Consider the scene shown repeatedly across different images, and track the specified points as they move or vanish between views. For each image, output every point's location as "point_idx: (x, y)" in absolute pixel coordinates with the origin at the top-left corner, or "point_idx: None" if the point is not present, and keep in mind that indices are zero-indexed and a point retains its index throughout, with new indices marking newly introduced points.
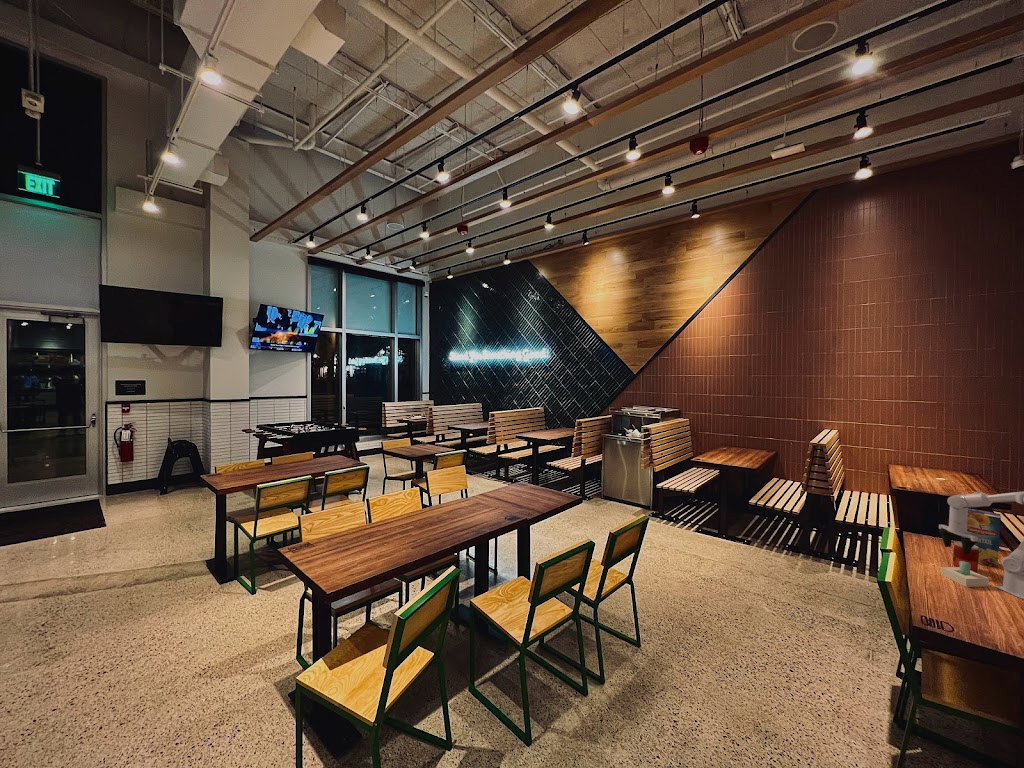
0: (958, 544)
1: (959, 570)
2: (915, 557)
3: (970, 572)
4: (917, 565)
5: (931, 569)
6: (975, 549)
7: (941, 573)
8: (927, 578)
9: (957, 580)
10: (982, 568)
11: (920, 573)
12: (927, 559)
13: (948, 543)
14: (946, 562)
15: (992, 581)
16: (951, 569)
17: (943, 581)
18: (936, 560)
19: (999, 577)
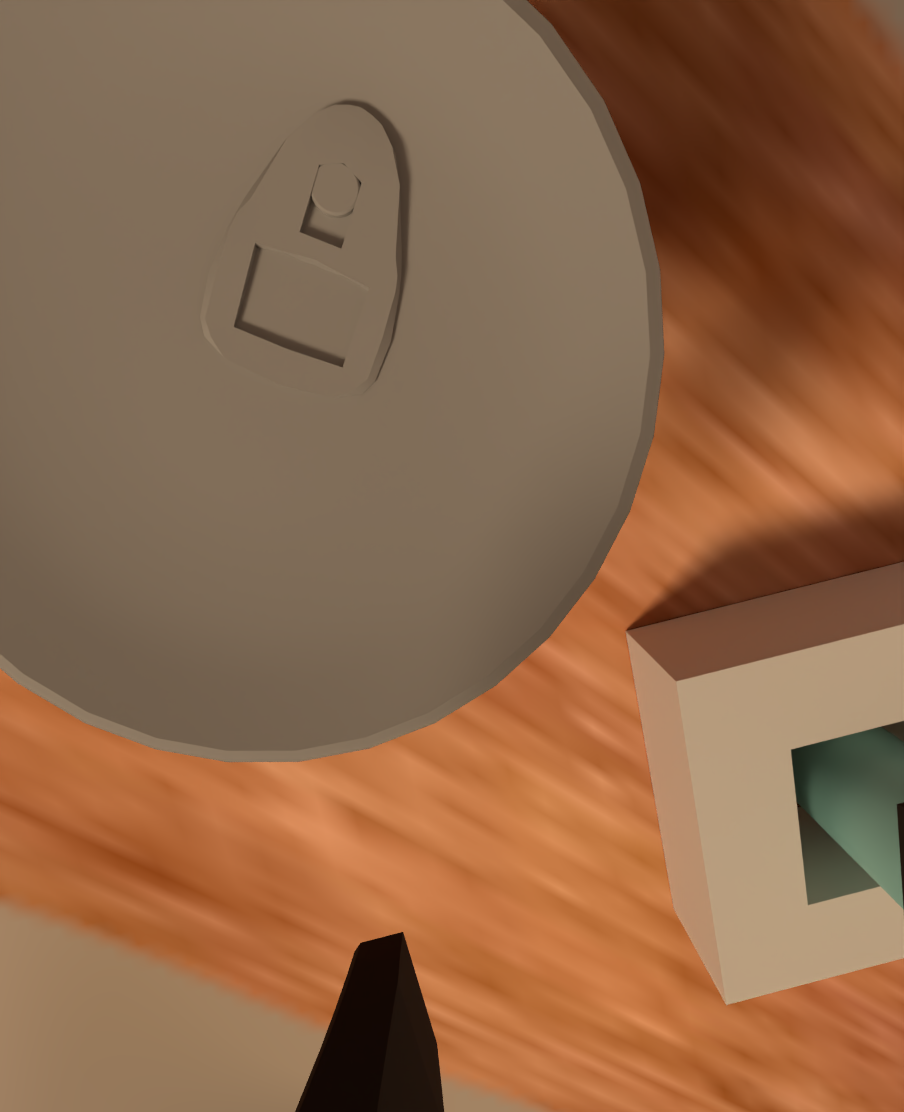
0: (281, 691)
1: (857, 862)
2: (103, 901)
3: (875, 711)
4: None
5: (515, 924)
6: (643, 304)
7: (682, 924)
8: (778, 1094)
9: None
10: None
11: (656, 1098)
12: (133, 776)
13: (415, 1110)
14: None
15: (805, 350)
16: (784, 917)
17: (840, 982)
18: None
19: (651, 74)
